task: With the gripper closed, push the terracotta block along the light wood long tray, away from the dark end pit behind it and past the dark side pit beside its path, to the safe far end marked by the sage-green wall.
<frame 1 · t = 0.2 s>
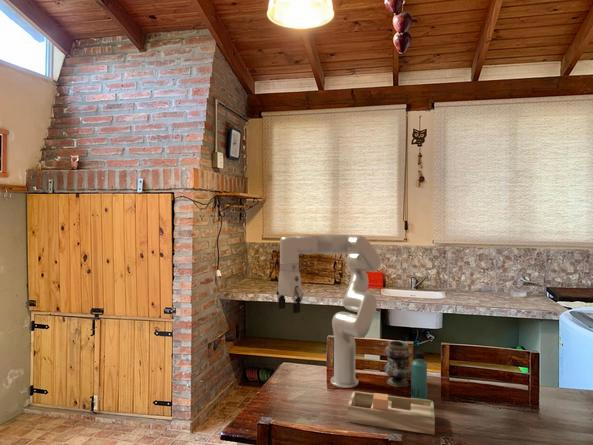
hand: (288, 310, 162), 37 cm above the table, tool pointing down, fingers open, 9 cm apart
light wood long tray: (390, 418, 150), on the table
beverage bottle: (418, 402, 164), on the table
dark ribbed vase: (397, 383, 183), on the table
block: (380, 410, 148), point 4 cm above the table, touching light wood long tray
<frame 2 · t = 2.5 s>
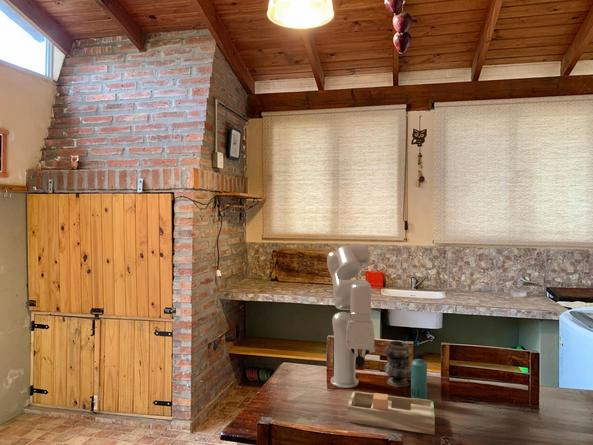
hand: (360, 366, 150), 19 cm above the table, tool pointing down, fingers closed
nothing on the table moved.
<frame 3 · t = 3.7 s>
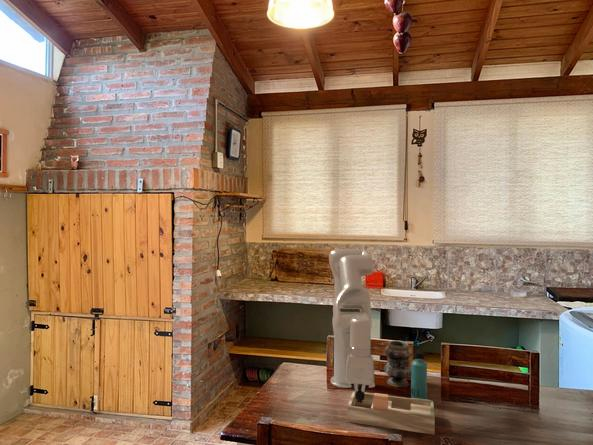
hand: (360, 401, 149), 6 cm above the table, tool pointing down, fingers closed
nothing on the table moved.
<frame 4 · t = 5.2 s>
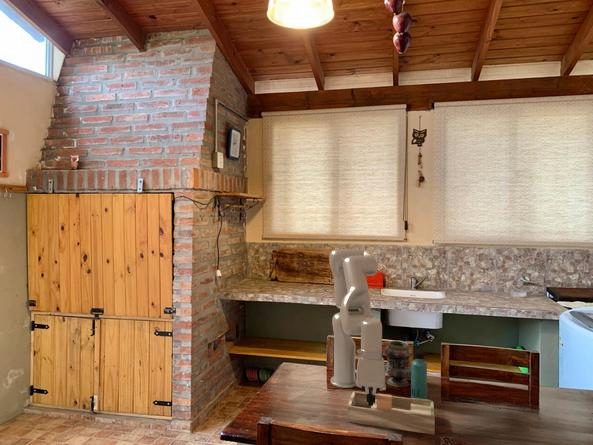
hand: (370, 404, 148), 6 cm above the table, tool pointing down, fingers closed
block: (384, 410, 147), point 4 cm above the table, touching gripper
everything else where it was.
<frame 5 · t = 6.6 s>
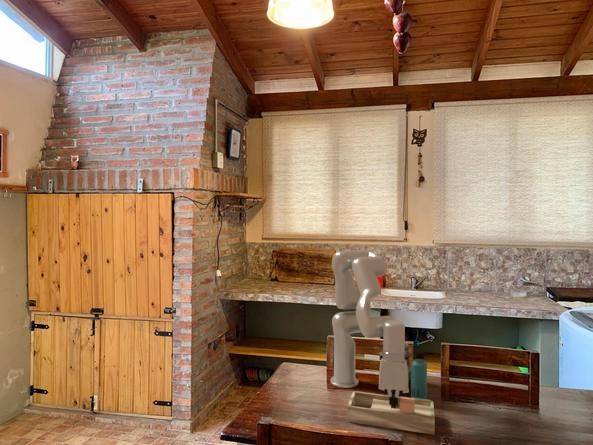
hand: (393, 406, 146), 6 cm above the table, tool pointing down, fingers closed
block: (407, 414, 145), point 4 cm above the table, touching gripper, light wood long tray
everything else where it was.
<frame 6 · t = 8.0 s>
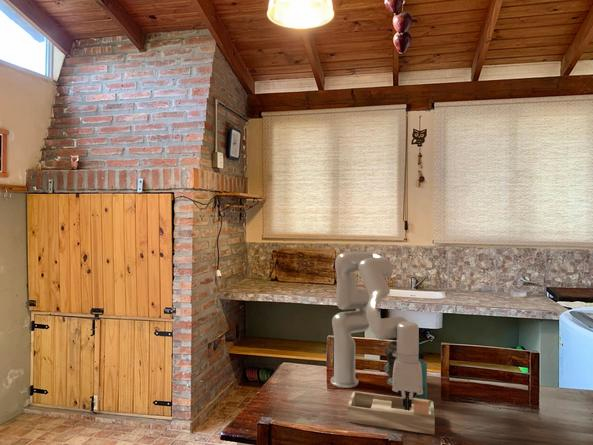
hand: (407, 408, 145), 6 cm above the table, tool pointing down, fingers closed
block: (421, 416, 143), point 4 cm above the table, touching gripper, light wood long tray
everything else where it was.
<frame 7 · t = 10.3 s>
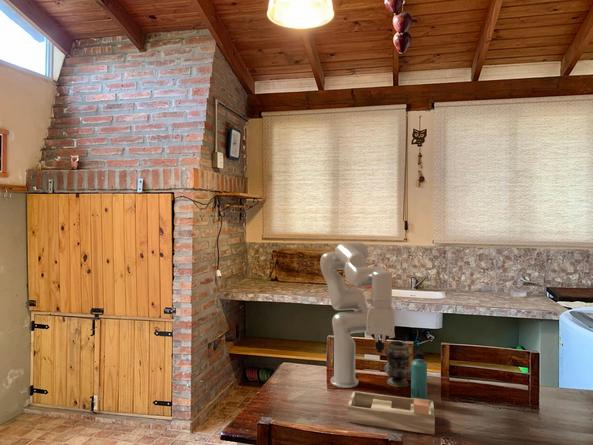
hand: (379, 351, 153), 24 cm above the table, tool pointing down, fingers closed
block: (421, 416, 143), point 4 cm above the table, touching light wood long tray
everything else where it was.
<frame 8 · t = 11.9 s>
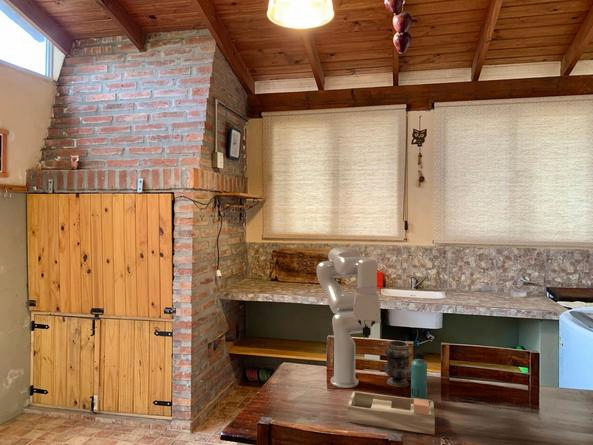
hand: (366, 336, 160), 27 cm above the table, tool pointing down, fingers closed
nothing on the table moved.
at the end: block inside the target area on the light wood long tray (0.5 cm from its centre), point 4.0 cm above the light wood long tray's base; block touching light wood long tray; block tilted 0° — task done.
